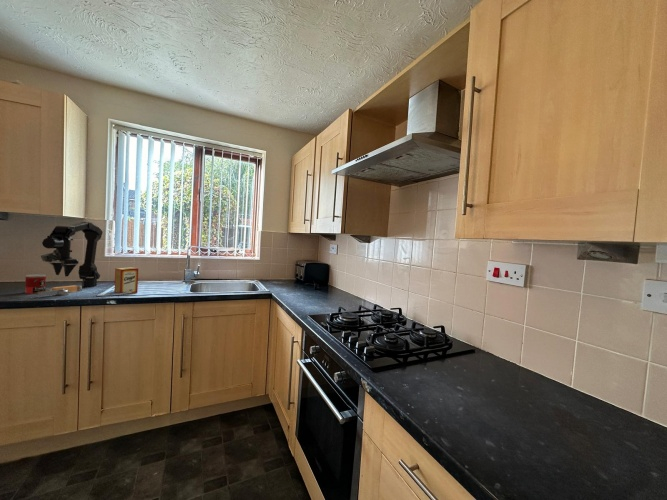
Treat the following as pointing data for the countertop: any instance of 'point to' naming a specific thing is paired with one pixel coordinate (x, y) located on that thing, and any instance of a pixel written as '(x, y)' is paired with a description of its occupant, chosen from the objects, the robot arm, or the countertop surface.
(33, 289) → the canned food
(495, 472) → the countertop surface
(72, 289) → the orange rectangular bar
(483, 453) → the countertop surface
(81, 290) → the tool board
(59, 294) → the crank handle
